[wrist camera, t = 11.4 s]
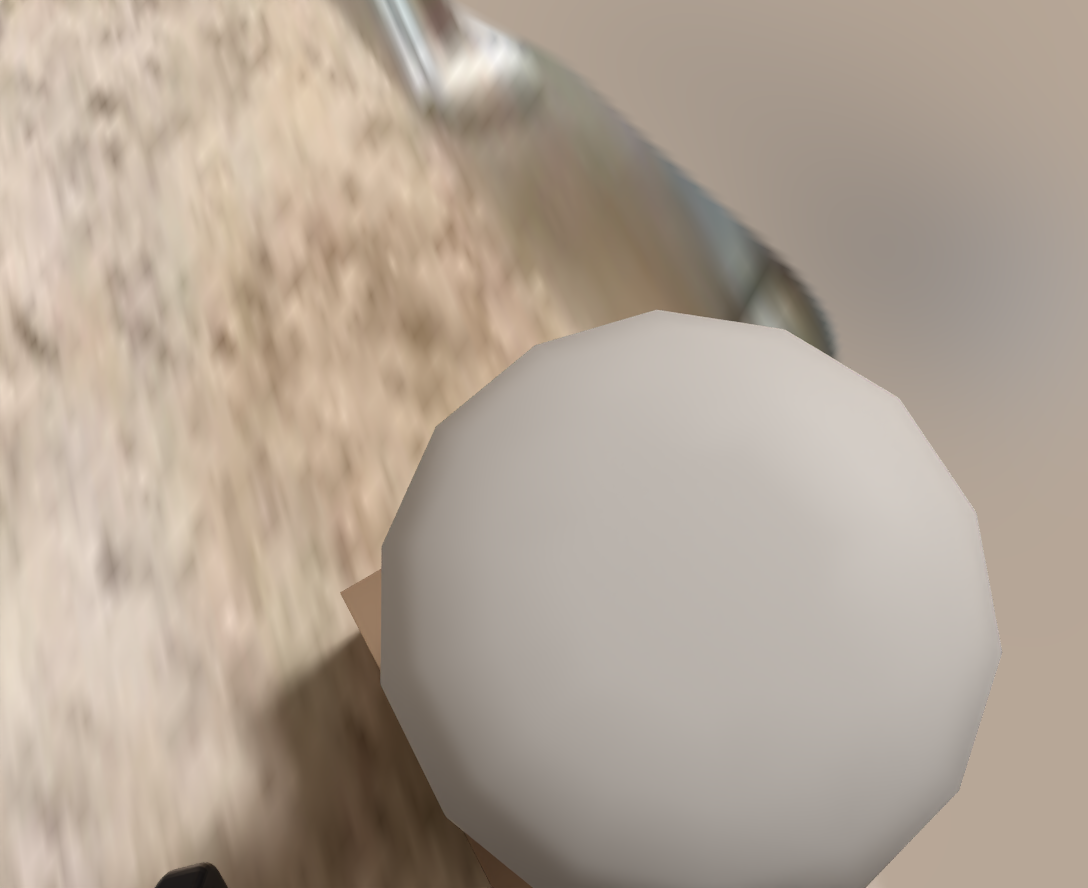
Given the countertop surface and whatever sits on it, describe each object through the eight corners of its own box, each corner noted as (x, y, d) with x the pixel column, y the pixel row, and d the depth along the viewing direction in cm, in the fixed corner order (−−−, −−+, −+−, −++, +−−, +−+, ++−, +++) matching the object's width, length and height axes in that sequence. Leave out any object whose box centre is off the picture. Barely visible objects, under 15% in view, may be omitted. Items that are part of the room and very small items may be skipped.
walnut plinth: (864, 743, 22) (922, 748, 18) (553, 938, 21) (544, 988, 17) (671, 445, 24) (686, 393, 20) (382, 613, 23) (339, 592, 19)
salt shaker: (612, 913, 17) (655, 1419, 5) (410, 665, 19) (34, 560, 6) (844, 689, 18) (1395, 624, 6) (634, 467, 20) (703, 21, 7)
